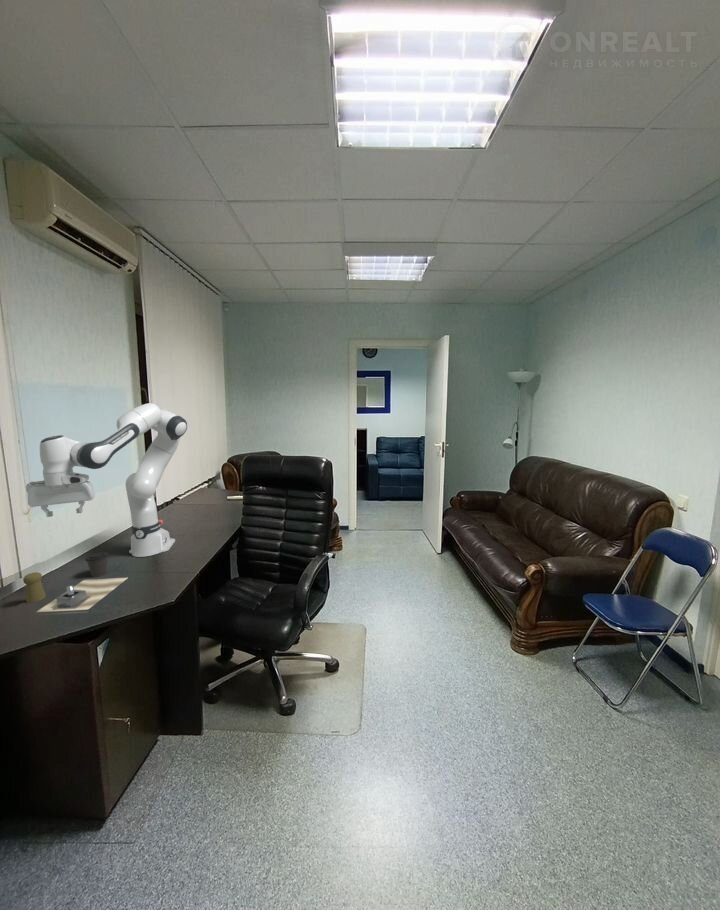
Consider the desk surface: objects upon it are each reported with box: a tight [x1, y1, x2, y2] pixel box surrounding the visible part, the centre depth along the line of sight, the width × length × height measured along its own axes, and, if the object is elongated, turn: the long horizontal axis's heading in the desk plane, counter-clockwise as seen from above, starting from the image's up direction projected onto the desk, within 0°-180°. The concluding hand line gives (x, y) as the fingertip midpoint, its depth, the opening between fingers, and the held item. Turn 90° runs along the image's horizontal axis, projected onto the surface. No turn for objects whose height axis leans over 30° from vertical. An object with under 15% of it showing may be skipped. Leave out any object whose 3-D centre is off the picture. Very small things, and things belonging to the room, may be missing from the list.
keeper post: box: [53, 584, 91, 610], centre depth 135 cm, size 8×8×6 cm
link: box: [55, 590, 87, 607], centre depth 135 cm, size 6×6×3 cm
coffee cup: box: [84, 551, 109, 578], centre depth 159 cm, size 8×8×10 cm
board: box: [35, 577, 128, 616], centre depth 143 cm, size 24×18×1 cm
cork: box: [23, 571, 47, 604], centre depth 140 cm, size 6×6×11 cm
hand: (65, 514), depth 143 cm, fingers open, 8 cm apart
